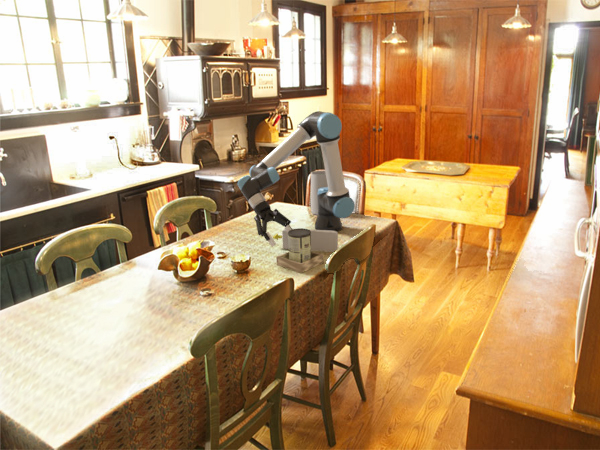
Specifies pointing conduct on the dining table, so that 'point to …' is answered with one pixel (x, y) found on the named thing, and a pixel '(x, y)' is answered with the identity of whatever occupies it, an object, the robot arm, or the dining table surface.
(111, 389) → the dining table surface
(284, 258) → the square tray
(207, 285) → the dining table surface
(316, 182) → the cylinder vase
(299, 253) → the coffee can
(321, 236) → the decorative sign
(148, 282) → the dining table surface
